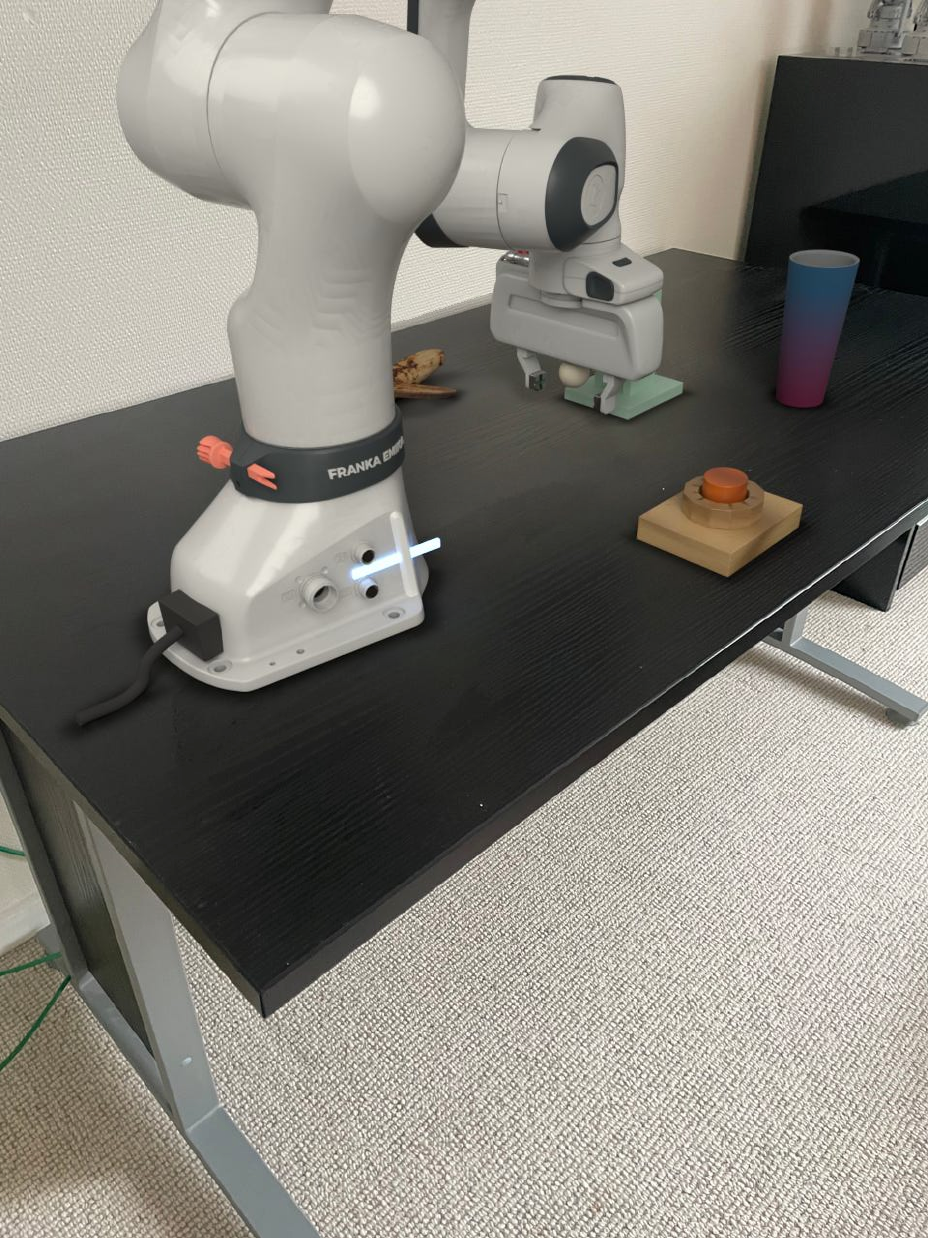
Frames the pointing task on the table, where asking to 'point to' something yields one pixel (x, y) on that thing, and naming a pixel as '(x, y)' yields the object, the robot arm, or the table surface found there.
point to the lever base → (628, 391)
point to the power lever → (573, 374)
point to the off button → (724, 485)
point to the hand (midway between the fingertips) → (568, 399)
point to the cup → (813, 323)
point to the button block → (719, 526)
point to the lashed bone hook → (419, 376)
